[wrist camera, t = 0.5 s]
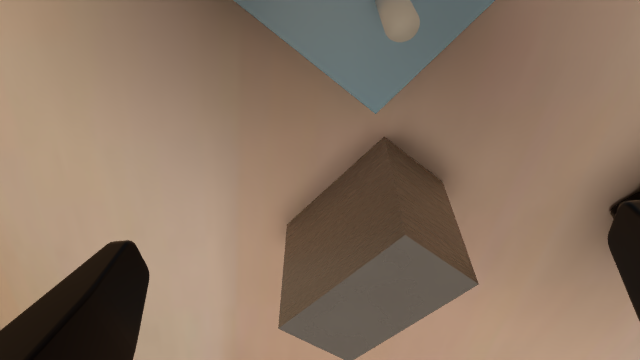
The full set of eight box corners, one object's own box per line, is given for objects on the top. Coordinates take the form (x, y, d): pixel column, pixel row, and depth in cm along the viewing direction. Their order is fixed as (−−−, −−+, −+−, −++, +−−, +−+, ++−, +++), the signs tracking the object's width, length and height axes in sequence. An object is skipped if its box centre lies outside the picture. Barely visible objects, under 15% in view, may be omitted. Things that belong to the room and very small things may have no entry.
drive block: (442, 181, 24) (478, 284, 19) (343, 257, 28) (349, 362, 22) (384, 135, 22) (405, 235, 17) (287, 223, 26) (278, 328, 21)
